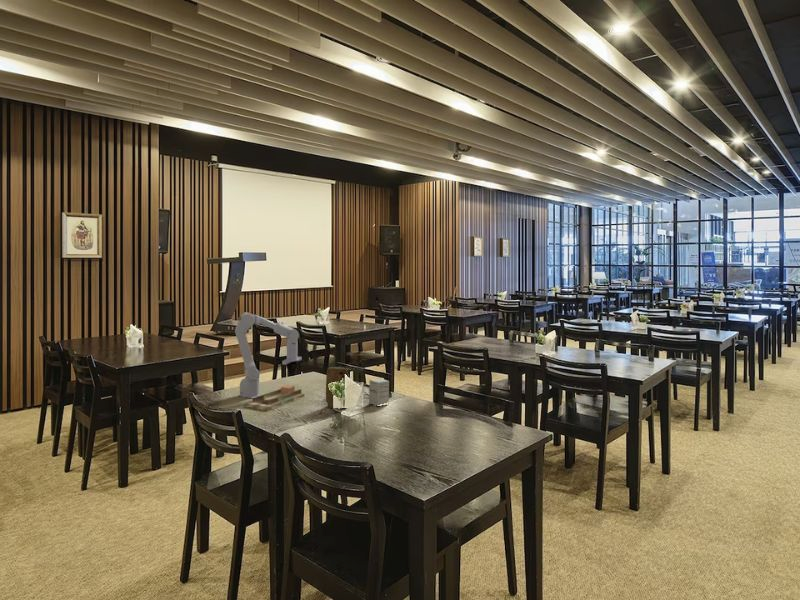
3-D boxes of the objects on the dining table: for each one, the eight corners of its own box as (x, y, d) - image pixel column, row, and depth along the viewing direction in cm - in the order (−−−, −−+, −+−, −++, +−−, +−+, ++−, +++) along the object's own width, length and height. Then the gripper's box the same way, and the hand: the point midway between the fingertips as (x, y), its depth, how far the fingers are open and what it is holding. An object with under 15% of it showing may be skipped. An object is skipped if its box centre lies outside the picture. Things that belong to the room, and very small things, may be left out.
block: (324, 407, 251) (324, 367, 250) (333, 404, 257) (334, 364, 256) (341, 411, 245) (342, 370, 244) (351, 407, 252) (351, 367, 250)
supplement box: (368, 404, 259) (369, 379, 258) (379, 401, 264) (380, 377, 263) (377, 407, 253) (378, 382, 252) (388, 405, 258) (389, 380, 257)
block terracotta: (280, 394, 265) (280, 386, 265) (286, 392, 270) (287, 384, 270) (288, 395, 263) (288, 388, 263) (294, 393, 268) (294, 386, 268)
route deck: (245, 407, 248) (245, 398, 248) (283, 393, 274) (283, 386, 274) (267, 411, 242) (268, 402, 242) (304, 397, 268) (304, 390, 268)
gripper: (290, 353, 268) (289, 379, 269) (306, 349, 281) (305, 373, 282) (279, 352, 271) (278, 377, 272) (295, 348, 284) (295, 372, 285)
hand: (292, 375), depth 277 cm, fingers closed
